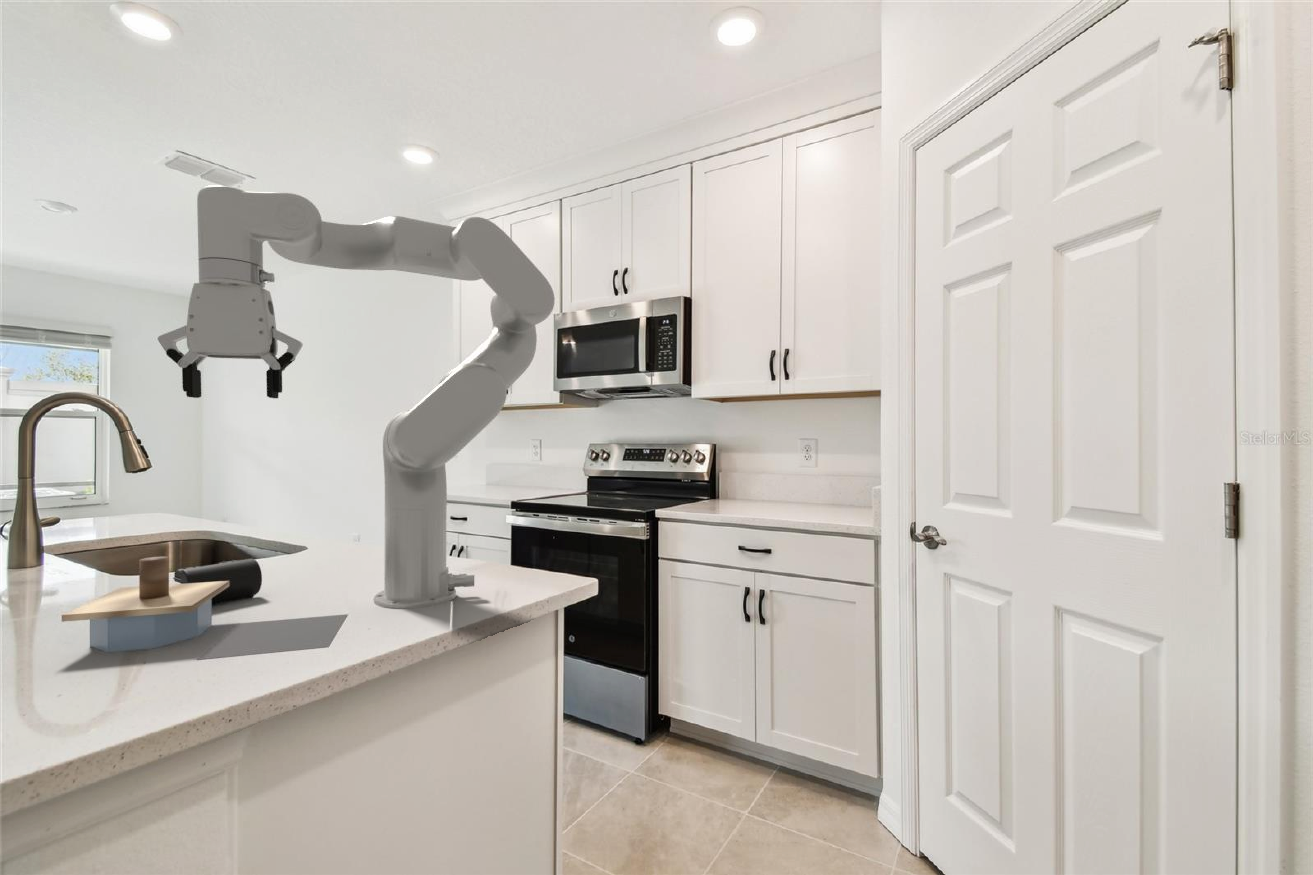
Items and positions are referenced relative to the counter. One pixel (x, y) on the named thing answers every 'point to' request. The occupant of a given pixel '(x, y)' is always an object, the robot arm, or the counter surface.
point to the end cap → (226, 578)
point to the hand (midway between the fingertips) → (234, 397)
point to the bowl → (149, 629)
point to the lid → (149, 595)
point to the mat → (276, 636)
